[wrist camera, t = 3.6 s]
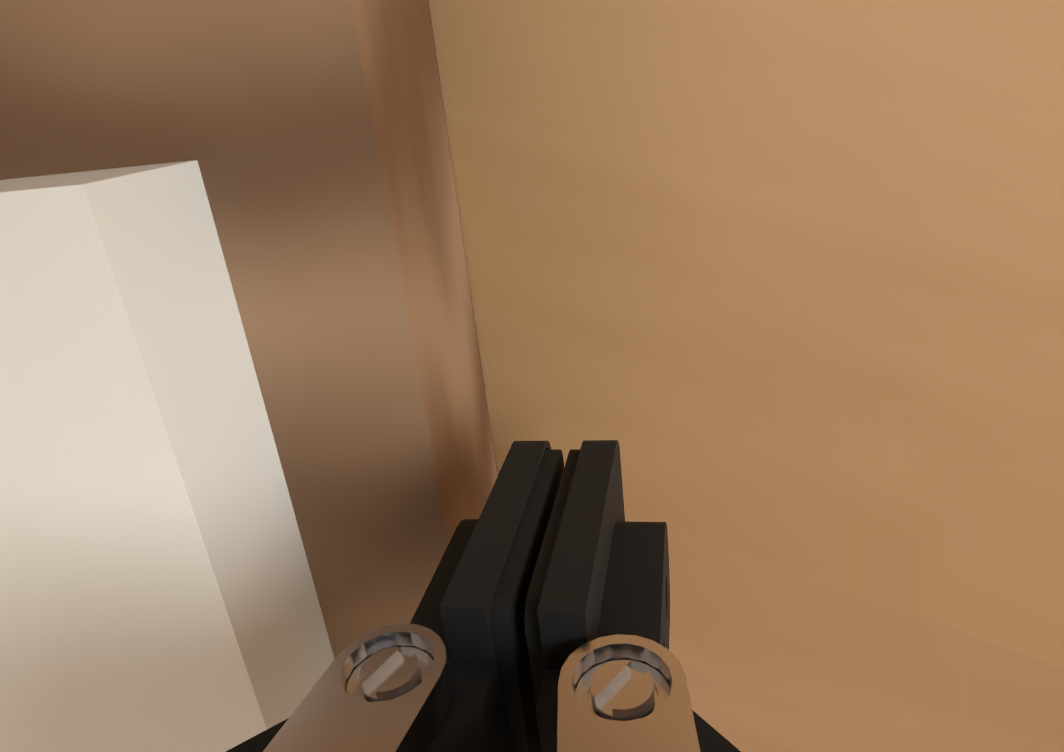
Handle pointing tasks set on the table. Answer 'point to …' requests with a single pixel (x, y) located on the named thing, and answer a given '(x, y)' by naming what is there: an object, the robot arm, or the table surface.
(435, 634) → the robot arm
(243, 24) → the brown wooden flat block
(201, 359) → the box
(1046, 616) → the table surface
